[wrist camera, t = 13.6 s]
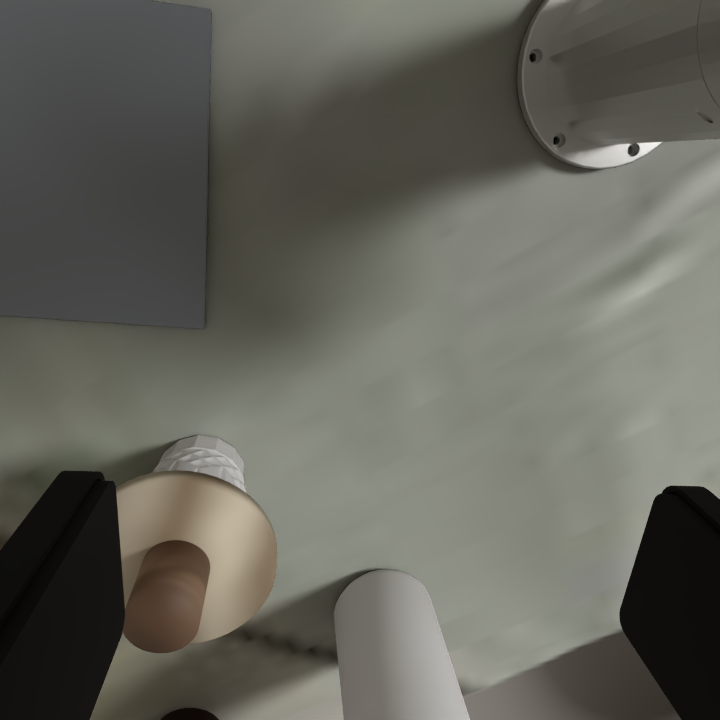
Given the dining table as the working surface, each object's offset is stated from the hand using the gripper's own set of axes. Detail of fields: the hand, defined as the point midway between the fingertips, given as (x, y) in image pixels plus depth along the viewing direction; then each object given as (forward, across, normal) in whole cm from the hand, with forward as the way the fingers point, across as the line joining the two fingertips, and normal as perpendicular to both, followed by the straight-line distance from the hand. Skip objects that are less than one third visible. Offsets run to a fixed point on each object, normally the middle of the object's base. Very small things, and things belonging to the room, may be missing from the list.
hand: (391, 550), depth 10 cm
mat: (+32, +18, -4) cm, 37 cm away
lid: (+22, +8, +18) cm, 29 cm away
